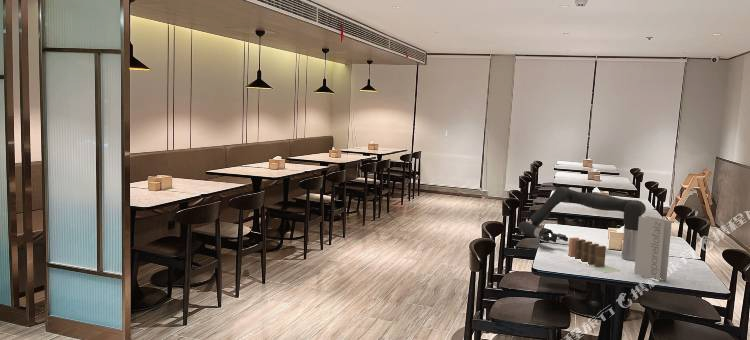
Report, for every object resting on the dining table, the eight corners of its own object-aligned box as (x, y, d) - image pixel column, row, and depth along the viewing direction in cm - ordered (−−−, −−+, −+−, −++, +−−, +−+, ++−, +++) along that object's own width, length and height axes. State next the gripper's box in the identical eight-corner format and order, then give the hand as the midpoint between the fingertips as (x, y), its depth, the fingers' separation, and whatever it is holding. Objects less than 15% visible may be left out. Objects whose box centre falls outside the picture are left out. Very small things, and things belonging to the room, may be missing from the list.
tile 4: (587, 263, 304) (589, 243, 303) (594, 263, 306) (596, 243, 305) (590, 264, 302) (591, 244, 301) (597, 264, 304) (599, 244, 303)
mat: (558, 255, 321) (558, 255, 321) (573, 254, 326) (573, 253, 325) (605, 273, 288) (605, 272, 288) (621, 271, 292) (622, 270, 292)
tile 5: (594, 266, 299) (595, 246, 298) (601, 265, 301) (603, 245, 300) (597, 267, 298) (598, 247, 296) (604, 266, 300) (606, 246, 298)
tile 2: (574, 259, 313) (575, 239, 312) (581, 258, 315) (583, 239, 314) (577, 260, 311) (578, 240, 310) (584, 259, 313) (585, 240, 312)
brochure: (634, 274, 289) (638, 216, 286) (641, 273, 291) (646, 215, 288) (659, 282, 276) (664, 221, 273) (666, 280, 279) (671, 221, 276)
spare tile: (568, 256, 318) (569, 237, 317) (575, 256, 320) (576, 237, 319) (570, 257, 316) (572, 238, 315) (577, 257, 318) (579, 237, 317)
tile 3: (580, 261, 309) (582, 241, 307) (588, 260, 311) (589, 241, 309) (583, 262, 307) (585, 242, 306) (590, 261, 309) (592, 242, 308)
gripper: (534, 228, 338) (552, 234, 323) (553, 227, 343) (572, 233, 329) (533, 240, 339) (551, 247, 324) (552, 239, 344) (571, 245, 329)
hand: (561, 240), depth 326 cm, fingers open, 8 cm apart
